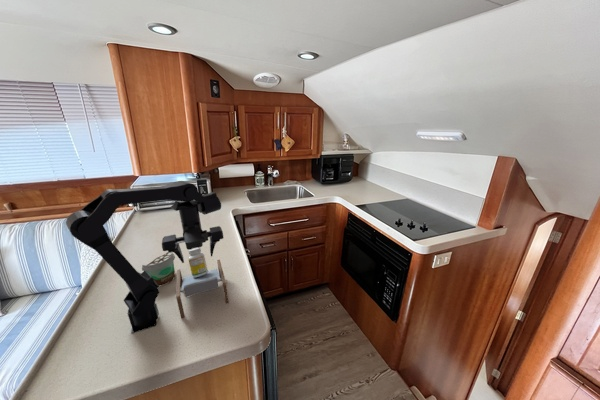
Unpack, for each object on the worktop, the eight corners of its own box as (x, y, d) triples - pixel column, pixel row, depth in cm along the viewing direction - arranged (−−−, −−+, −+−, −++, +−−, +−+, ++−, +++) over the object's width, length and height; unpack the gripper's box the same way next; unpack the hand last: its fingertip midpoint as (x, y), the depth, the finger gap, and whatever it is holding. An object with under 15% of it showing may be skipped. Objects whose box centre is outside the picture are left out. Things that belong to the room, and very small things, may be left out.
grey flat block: (180, 298, 71) (179, 289, 71) (183, 283, 85) (181, 275, 84) (222, 286, 77) (221, 277, 76) (218, 273, 90) (217, 266, 90)
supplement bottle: (203, 275, 81) (197, 249, 81) (189, 279, 81) (183, 252, 82) (210, 271, 86) (204, 246, 87) (197, 274, 87) (191, 249, 87)
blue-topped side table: (181, 318, 73) (176, 297, 70) (181, 289, 86) (177, 270, 83) (228, 302, 79) (225, 282, 76) (222, 277, 92) (219, 259, 89)
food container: (159, 292, 85) (153, 269, 81) (147, 288, 87) (140, 265, 83) (185, 272, 96) (181, 251, 92) (174, 269, 98) (169, 248, 94)
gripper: (155, 234, 66) (166, 280, 71) (223, 222, 74) (228, 264, 79) (159, 220, 75) (168, 261, 81) (218, 210, 83) (223, 248, 88)
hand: (197, 259), depth 82 cm, fingers open, 9 cm apart
